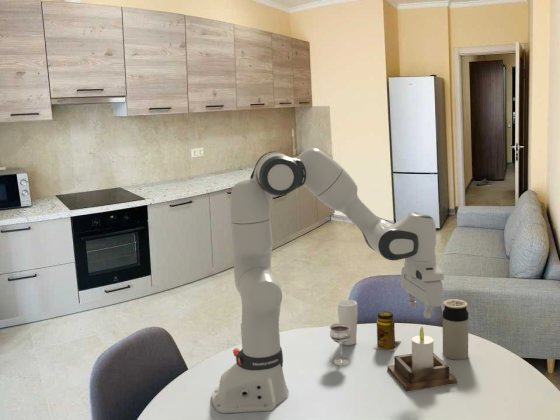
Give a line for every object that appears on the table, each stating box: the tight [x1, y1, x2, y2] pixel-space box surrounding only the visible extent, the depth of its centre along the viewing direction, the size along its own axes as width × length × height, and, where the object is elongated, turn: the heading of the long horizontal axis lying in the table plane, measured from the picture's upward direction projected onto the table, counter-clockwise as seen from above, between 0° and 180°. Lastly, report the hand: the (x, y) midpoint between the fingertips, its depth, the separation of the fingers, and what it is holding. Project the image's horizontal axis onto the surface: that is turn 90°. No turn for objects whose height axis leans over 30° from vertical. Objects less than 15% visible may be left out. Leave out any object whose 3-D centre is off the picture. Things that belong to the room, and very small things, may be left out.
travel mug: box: [442, 298, 469, 361], centre depth 176 cm, size 8×8×18 cm
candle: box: [411, 326, 434, 370], centre depth 163 cm, size 6×6×15 cm
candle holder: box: [386, 352, 458, 392], centre depth 164 cm, size 16×14×5 cm
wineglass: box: [329, 322, 351, 366], centre depth 176 cm, size 7×7×12 cm
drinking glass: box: [337, 299, 358, 346], centre depth 190 cm, size 7×7×15 cm
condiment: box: [373, 310, 401, 352], centre depth 186 cm, size 7×8×12 cm
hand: (419, 312), depth 161 cm, fingers open, 8 cm apart
